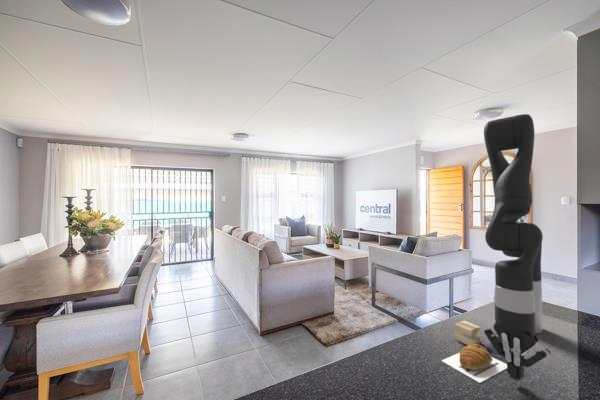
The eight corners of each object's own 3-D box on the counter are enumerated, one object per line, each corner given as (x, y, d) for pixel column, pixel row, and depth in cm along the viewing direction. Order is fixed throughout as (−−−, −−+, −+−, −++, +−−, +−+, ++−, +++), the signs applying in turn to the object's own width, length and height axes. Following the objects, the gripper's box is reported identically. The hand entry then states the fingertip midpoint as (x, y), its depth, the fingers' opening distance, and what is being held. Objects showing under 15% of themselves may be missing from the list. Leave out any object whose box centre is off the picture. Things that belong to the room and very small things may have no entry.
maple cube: (464, 335, 86) (463, 320, 86) (480, 342, 81) (480, 326, 81) (454, 339, 83) (454, 323, 83) (470, 347, 79) (470, 330, 79)
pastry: (482, 377, 65) (481, 361, 65) (452, 364, 70) (452, 350, 70) (493, 362, 71) (493, 348, 71) (465, 352, 76) (465, 338, 76)
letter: (471, 347, 78) (471, 347, 78) (510, 366, 69) (510, 365, 69) (441, 360, 72) (441, 360, 72) (479, 383, 63) (479, 382, 63)
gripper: (557, 312, 58) (559, 390, 58) (492, 294, 70) (493, 359, 70) (541, 319, 55) (543, 402, 55) (475, 299, 67) (477, 367, 67)
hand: (515, 378), depth 62 cm, fingers closed
